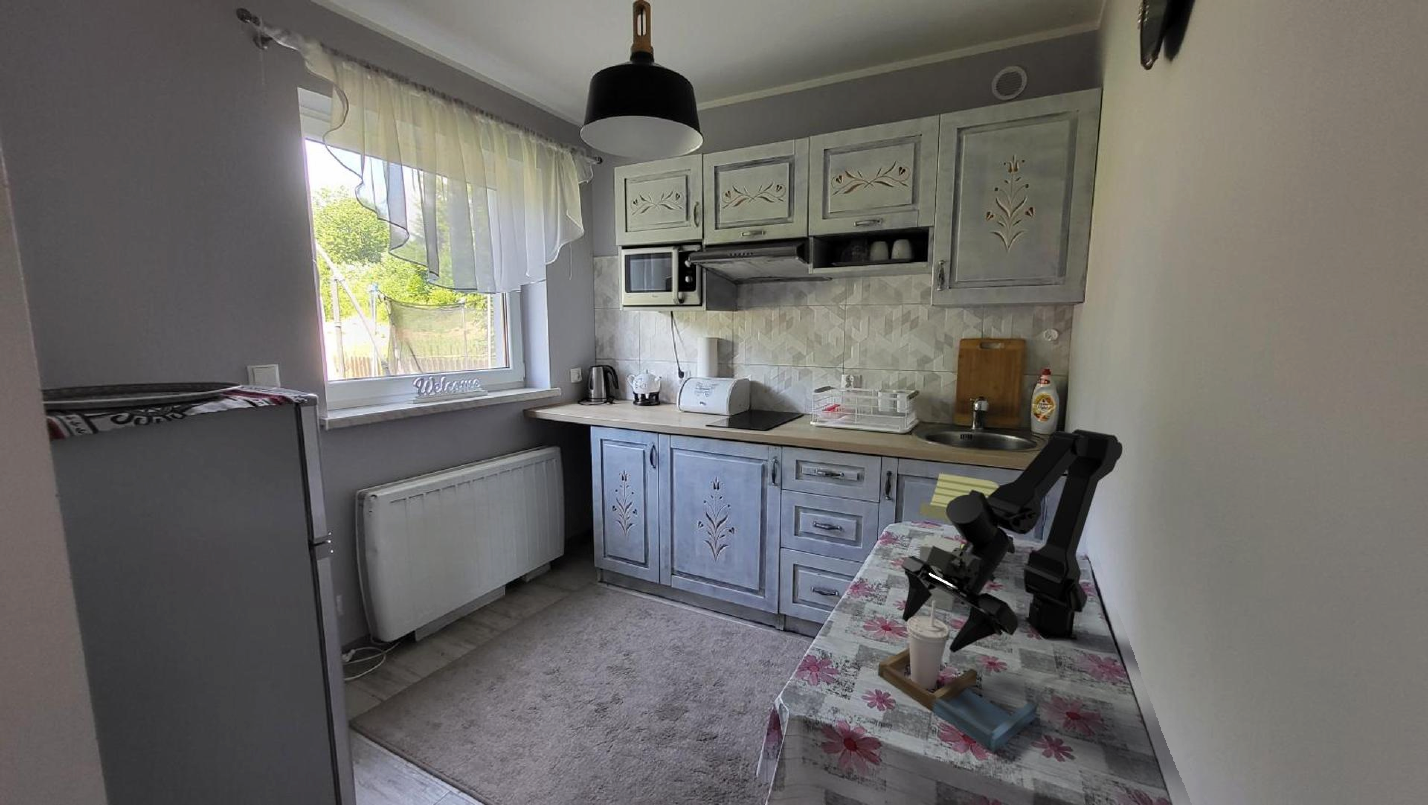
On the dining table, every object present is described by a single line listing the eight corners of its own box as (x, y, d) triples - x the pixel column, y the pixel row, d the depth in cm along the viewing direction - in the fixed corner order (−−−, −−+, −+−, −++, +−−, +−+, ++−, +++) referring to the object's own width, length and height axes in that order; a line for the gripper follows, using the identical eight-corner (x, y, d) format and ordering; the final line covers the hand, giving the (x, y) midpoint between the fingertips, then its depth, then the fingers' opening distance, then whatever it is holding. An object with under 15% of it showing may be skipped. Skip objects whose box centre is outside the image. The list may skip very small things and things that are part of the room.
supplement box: (952, 612, 106) (957, 553, 104) (913, 601, 110) (918, 544, 108) (957, 597, 112) (962, 541, 110) (920, 587, 116) (925, 533, 114)
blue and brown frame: (921, 651, 93) (922, 640, 92) (1035, 717, 77) (1037, 705, 77) (877, 675, 86) (878, 664, 86) (993, 753, 70) (995, 739, 70)
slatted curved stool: (992, 595, 113) (1000, 517, 111) (914, 576, 121) (921, 502, 119) (998, 547, 139) (1005, 483, 136) (934, 534, 147) (939, 473, 144)
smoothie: (948, 698, 81) (957, 614, 79) (905, 691, 82) (912, 608, 80) (939, 671, 87) (947, 593, 85) (899, 666, 88) (906, 588, 86)
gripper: (913, 511, 92) (861, 582, 88) (1015, 552, 75) (956, 642, 72) (939, 546, 96) (891, 615, 93) (1041, 592, 80) (987, 678, 77)
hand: (926, 634), depth 83 cm, fingers open, 9 cm apart
